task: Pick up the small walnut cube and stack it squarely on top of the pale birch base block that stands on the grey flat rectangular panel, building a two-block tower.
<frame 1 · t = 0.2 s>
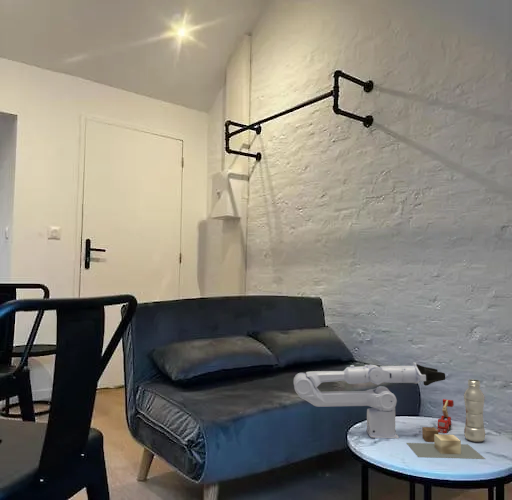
hand: (441, 374, 167), 21 cm above the table, tool horizontal, fingers open, 7 cm apart
toy fire truck: (445, 429, 175), on the table
walnut block: (430, 441, 161), on the table
grey flat rectangular panel: (444, 451, 151), on the table
plastic bottle: (474, 441, 161), on the table
birch base block: (447, 450, 151), resting on grey flat rectangular panel
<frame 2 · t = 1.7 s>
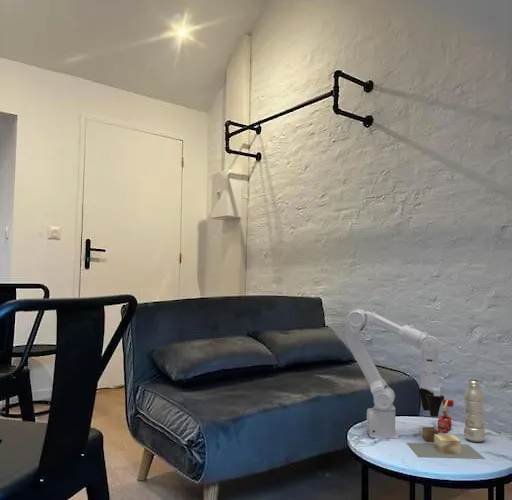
hand: (430, 413, 162), 9 cm above the table, tool pointing down, fingers open, 7 cm apart
nothing on the table moved.
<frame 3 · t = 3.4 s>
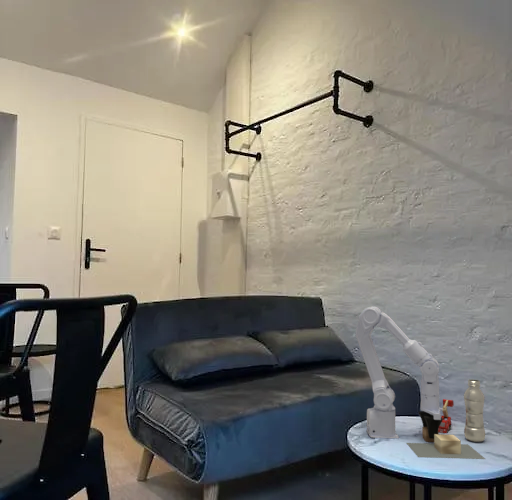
hand: (430, 436, 161), 2 cm above the table, tool pointing down, fingers closed on walnut block, 4 cm apart
walnut block: (430, 440, 161), on the table, touching gripper
everything else where it was.
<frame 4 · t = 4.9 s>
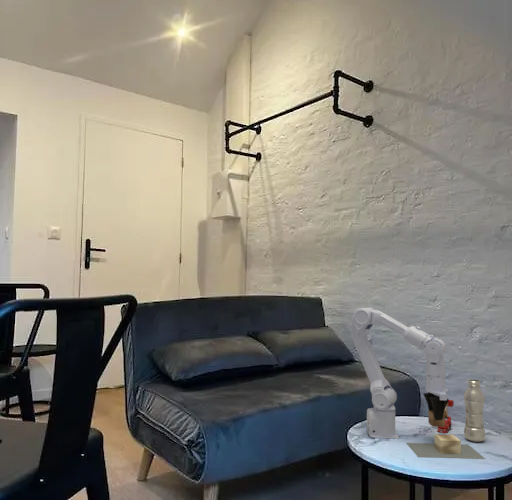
hand: (436, 417, 158), 8 cm above the table, tool pointing down, fingers closed on walnut block, 4 cm apart
walnut block: (436, 424, 158), point 6 cm above the table, touching gripper
everything else where it was.
when the fingers open (7 cm above the table, at t = 6.4 s): walnut block stays where it is, resting on birch base block.
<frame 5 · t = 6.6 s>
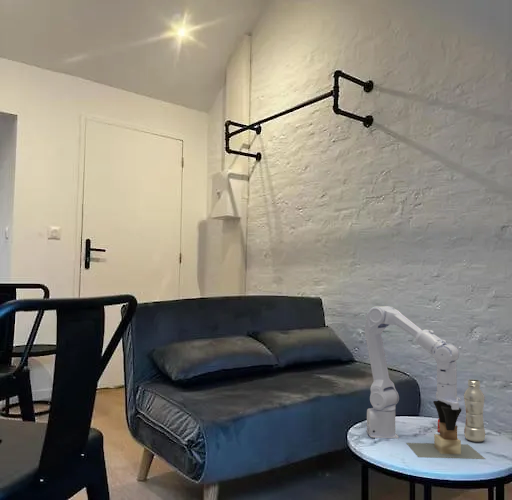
hand: (447, 427, 151), 7 cm above the table, tool pointing down, fingers open, 5 cm apart
walnut block: (448, 437, 151), point 4 cm above the table, touching birch base block
birch base block: (447, 450, 151), resting on grey flat rectangular panel, touching walnut block
everything else where it was.
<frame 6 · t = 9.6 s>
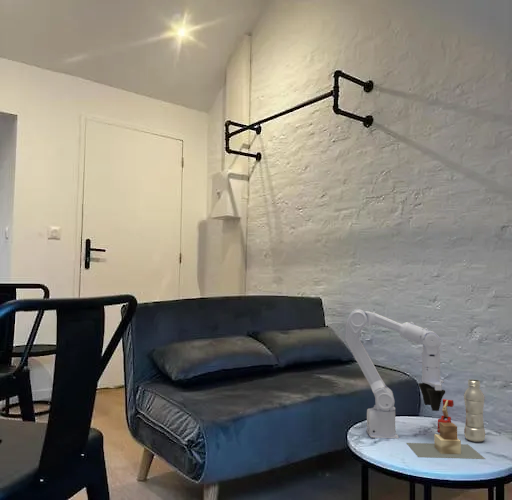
hand: (431, 407, 164), 10 cm above the table, tool pointing down, fingers open, 7 cm apart
nothing on the table moved.
at the end: walnut block 0.3 cm off-centre on the birch base block, point 4.0 cm above the birch base block's base; walnut block tilted 0°; the gripper is holding nothing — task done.
